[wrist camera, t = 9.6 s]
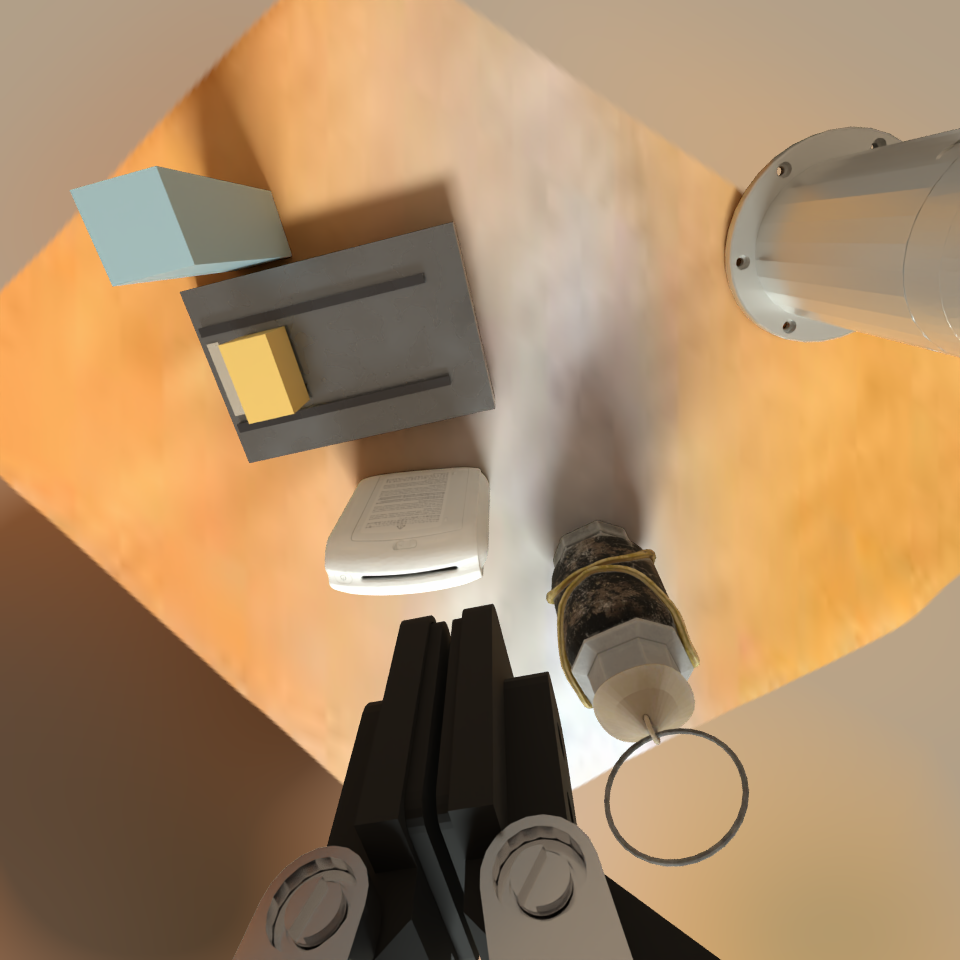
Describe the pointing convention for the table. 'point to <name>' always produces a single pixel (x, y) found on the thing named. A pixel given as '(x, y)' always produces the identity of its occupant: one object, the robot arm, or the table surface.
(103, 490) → the table surface
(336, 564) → the photo printer
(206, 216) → the post
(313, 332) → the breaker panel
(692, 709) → the lantern
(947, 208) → the robot arm
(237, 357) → the block
